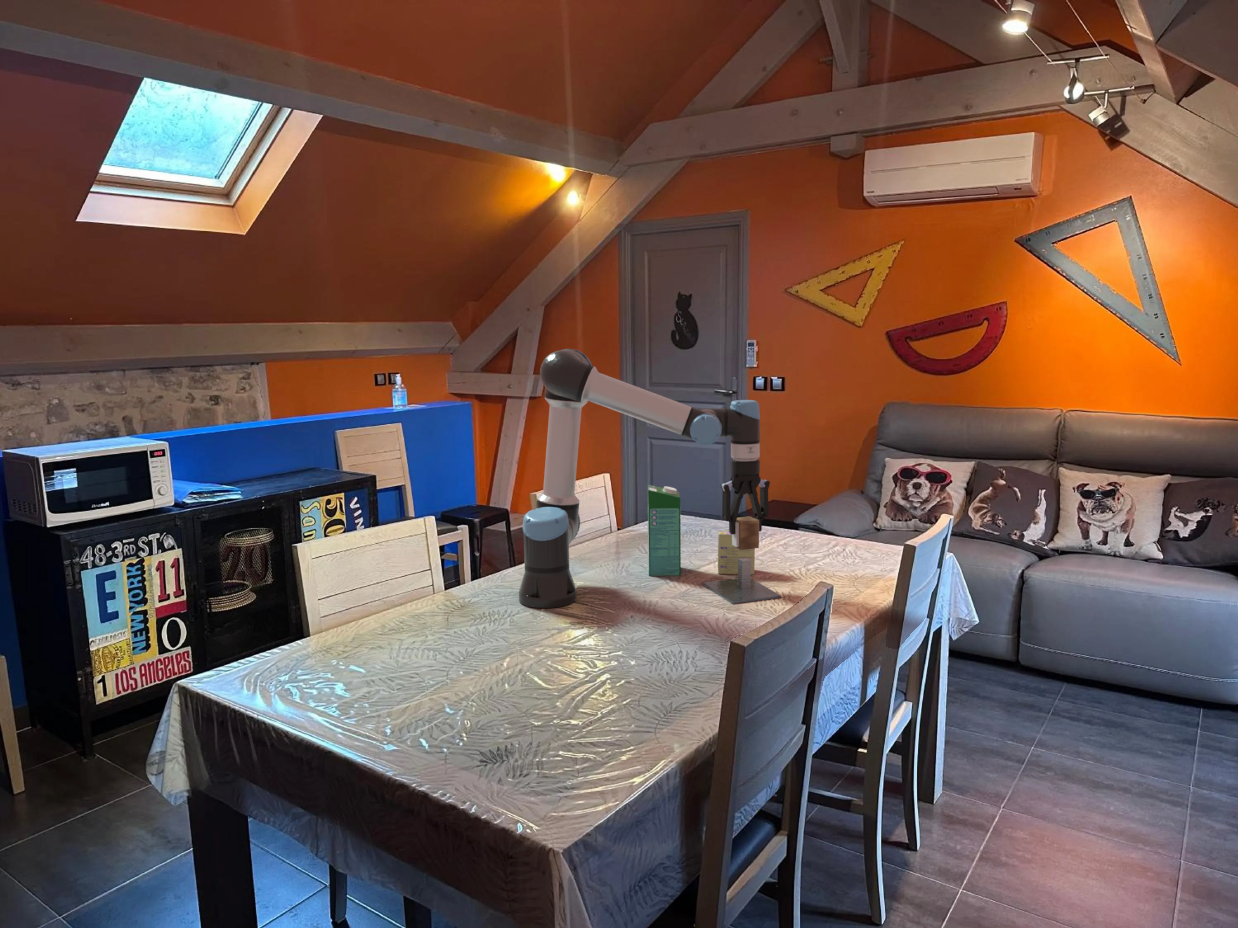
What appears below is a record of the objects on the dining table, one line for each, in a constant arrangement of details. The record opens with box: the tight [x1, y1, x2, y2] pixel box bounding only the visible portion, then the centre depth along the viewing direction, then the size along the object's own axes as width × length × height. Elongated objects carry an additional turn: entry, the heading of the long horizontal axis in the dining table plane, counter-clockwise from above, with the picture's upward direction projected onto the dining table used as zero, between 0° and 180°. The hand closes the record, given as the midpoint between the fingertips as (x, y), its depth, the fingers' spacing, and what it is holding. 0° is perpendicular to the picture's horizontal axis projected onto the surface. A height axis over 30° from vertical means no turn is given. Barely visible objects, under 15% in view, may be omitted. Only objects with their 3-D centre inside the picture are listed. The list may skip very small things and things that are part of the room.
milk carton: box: [647, 484, 682, 577], centre depth 247 cm, size 9×9×25 cm
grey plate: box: [702, 558, 782, 605], centre depth 229 cm, size 14×18×8 cm
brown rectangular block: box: [732, 515, 760, 550], centre depth 229 cm, size 5×5×8 cm
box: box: [717, 529, 756, 576], centre depth 246 cm, size 10×6×12 cm, turn 84°
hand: (745, 544), depth 230 cm, fingers closed on brown rectangular block, 5 cm apart
